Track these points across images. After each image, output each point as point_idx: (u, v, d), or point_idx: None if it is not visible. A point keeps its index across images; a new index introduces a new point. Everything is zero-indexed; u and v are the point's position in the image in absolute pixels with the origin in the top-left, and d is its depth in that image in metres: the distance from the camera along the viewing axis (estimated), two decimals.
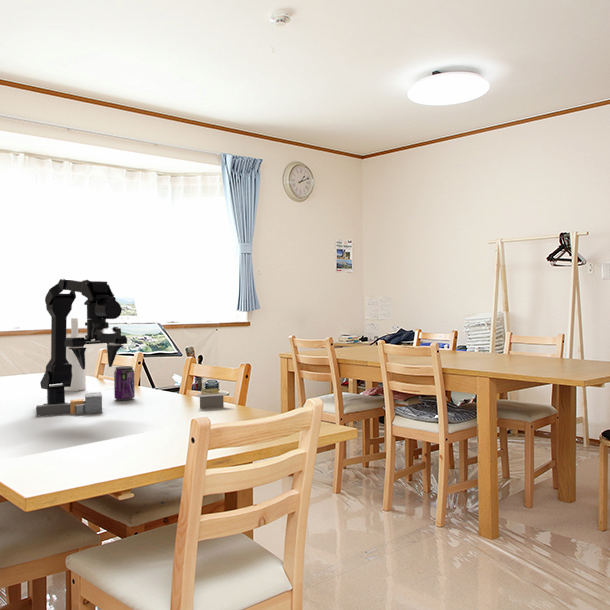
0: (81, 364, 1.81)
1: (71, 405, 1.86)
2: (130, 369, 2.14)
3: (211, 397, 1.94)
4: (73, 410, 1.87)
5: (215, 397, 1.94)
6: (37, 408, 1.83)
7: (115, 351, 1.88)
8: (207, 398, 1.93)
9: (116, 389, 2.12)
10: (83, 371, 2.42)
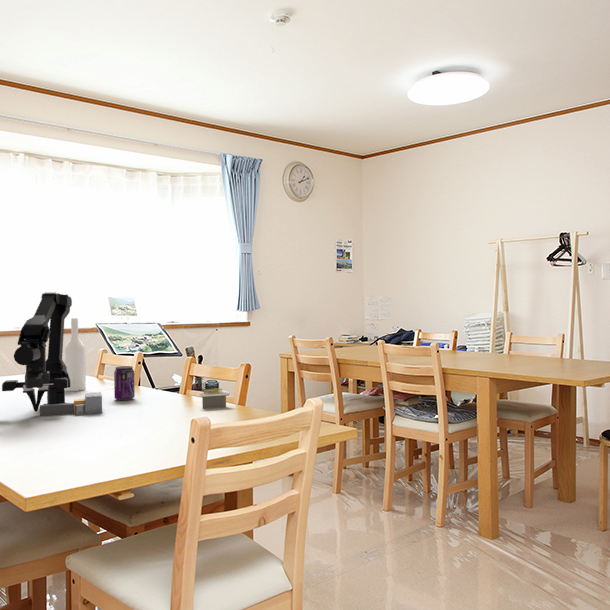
0: (33, 406, 1.84)
1: None
2: (130, 369, 2.14)
3: (214, 397, 1.94)
4: None
5: (218, 397, 1.94)
6: (41, 408, 1.83)
7: (39, 396, 1.83)
8: (210, 398, 1.93)
9: (116, 389, 2.12)
10: (83, 371, 2.42)
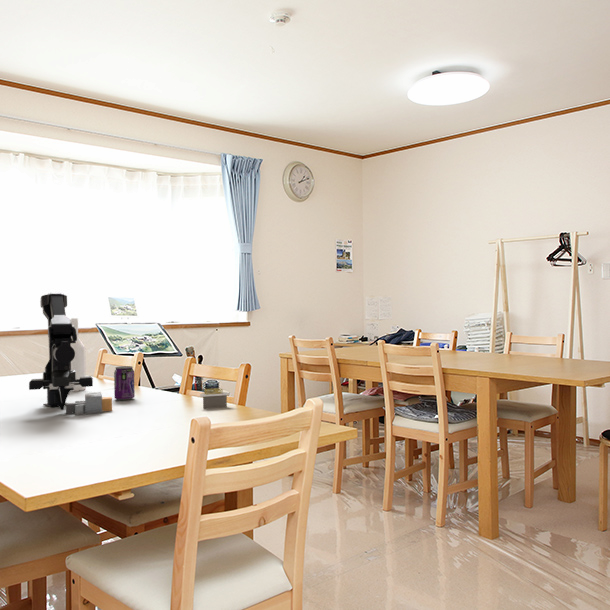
0: (59, 404, 1.87)
1: None
2: (130, 369, 2.14)
3: (214, 397, 1.94)
4: (102, 408, 1.90)
5: (218, 397, 1.94)
6: (67, 406, 1.86)
7: (65, 394, 1.86)
8: (210, 398, 1.94)
9: (116, 389, 2.12)
10: (83, 371, 2.42)
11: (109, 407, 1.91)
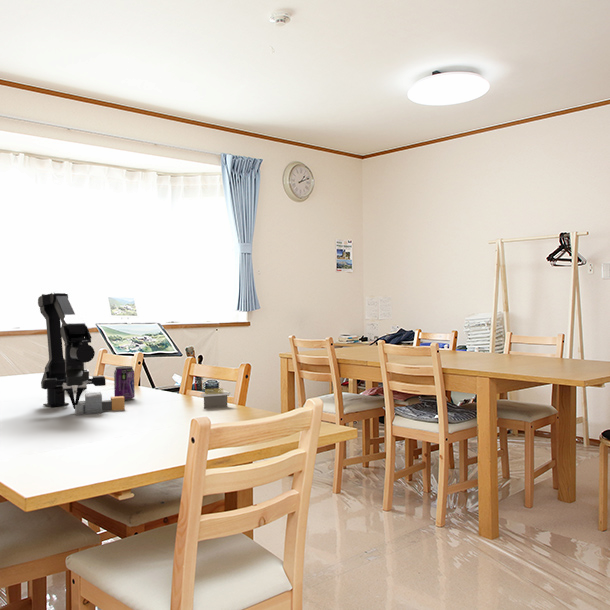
0: (72, 404, 1.88)
1: (112, 402, 1.91)
2: (130, 369, 2.14)
3: (215, 397, 1.94)
4: (115, 407, 1.91)
5: (219, 397, 1.95)
6: None
7: (78, 393, 1.88)
8: (211, 398, 1.94)
9: (116, 389, 2.12)
10: None
11: (121, 406, 1.92)
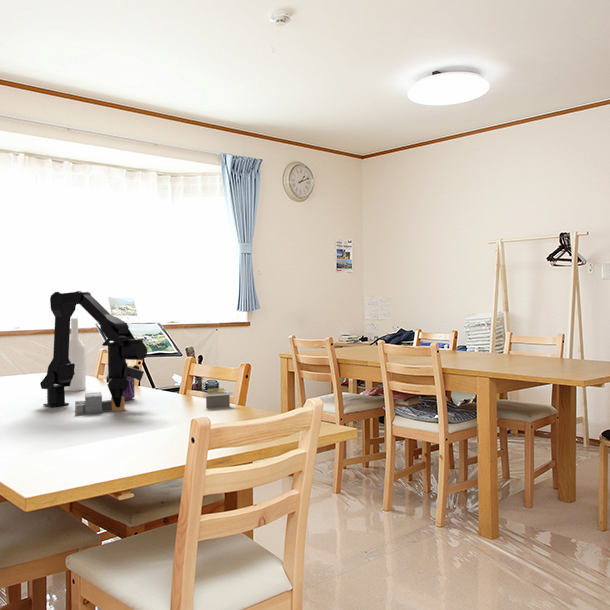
0: (118, 402, 1.91)
1: (112, 402, 1.91)
2: None
3: (217, 397, 1.94)
4: (115, 407, 1.91)
5: (221, 397, 1.95)
6: None
7: None
8: (213, 398, 1.94)
9: None
10: (83, 371, 2.42)
11: (121, 406, 1.92)
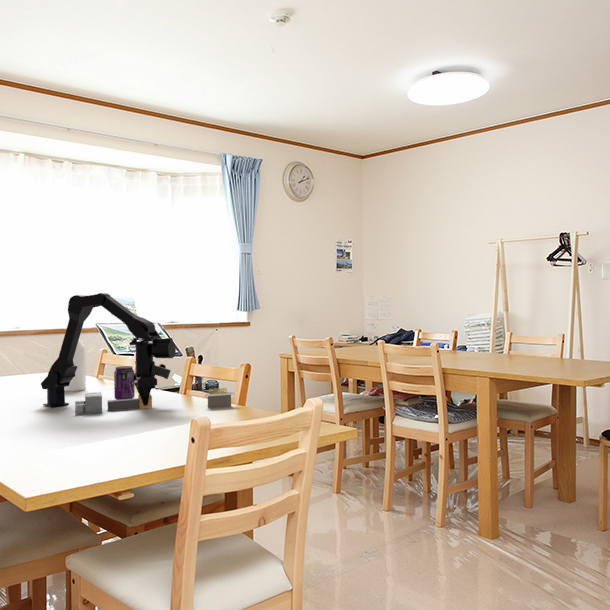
0: (145, 400, 1.94)
1: (140, 400, 1.94)
2: (130, 369, 2.14)
3: (219, 396, 1.95)
4: (142, 405, 1.94)
5: (223, 396, 1.95)
6: (109, 403, 1.91)
7: None
8: (215, 397, 1.94)
9: (116, 389, 2.12)
10: (83, 371, 2.42)
11: (149, 404, 1.95)
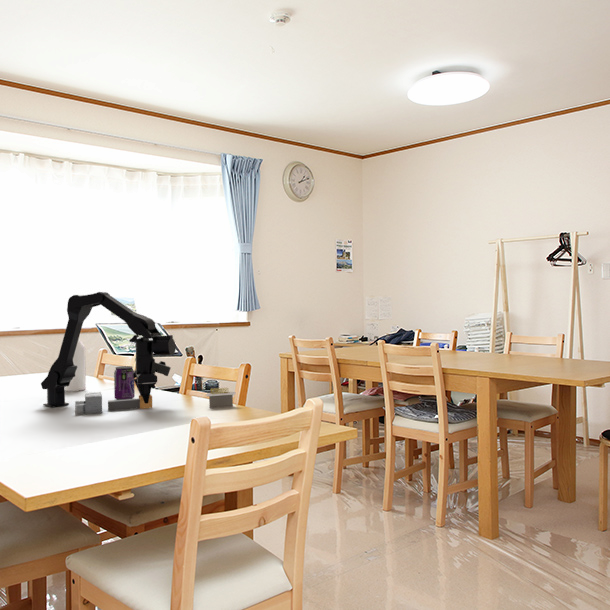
0: (146, 398, 1.92)
1: (141, 400, 1.94)
2: (130, 369, 2.14)
3: (220, 396, 1.95)
4: (143, 405, 1.94)
5: (224, 396, 1.95)
6: (109, 403, 1.91)
7: None
8: (216, 397, 1.94)
9: (116, 389, 2.12)
10: (83, 371, 2.42)
11: (149, 404, 1.95)
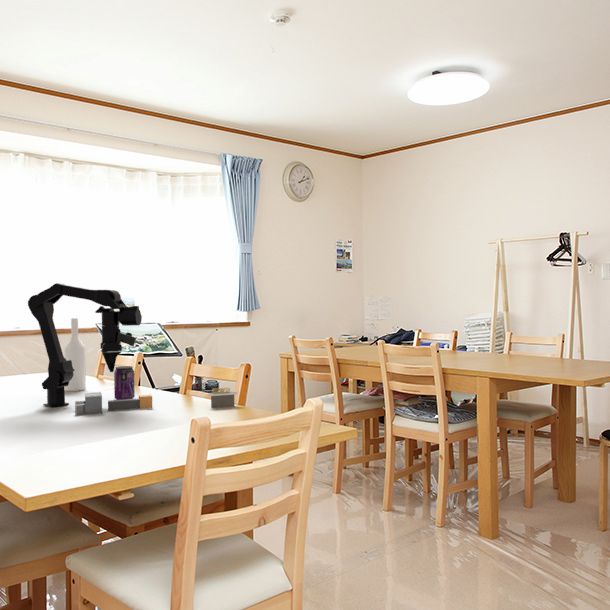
0: (111, 367, 1.97)
1: (141, 400, 1.94)
2: (130, 369, 2.14)
3: (222, 396, 1.95)
4: (143, 405, 1.94)
5: (226, 396, 1.96)
6: (109, 403, 1.91)
7: None
8: (218, 397, 1.95)
9: (116, 389, 2.12)
10: (83, 371, 2.42)
11: (149, 404, 1.95)
